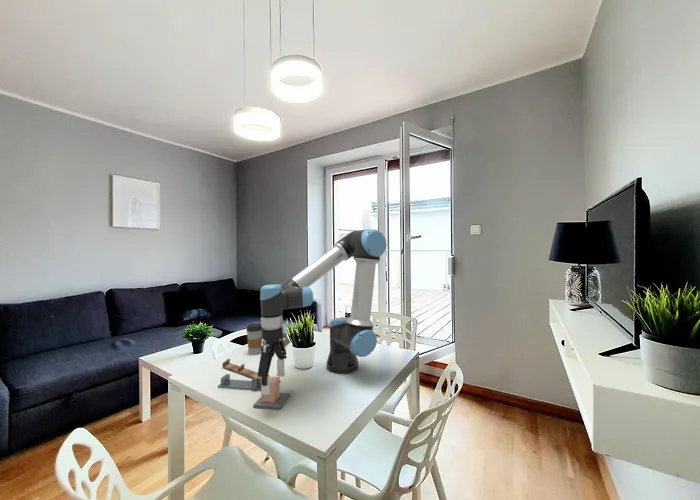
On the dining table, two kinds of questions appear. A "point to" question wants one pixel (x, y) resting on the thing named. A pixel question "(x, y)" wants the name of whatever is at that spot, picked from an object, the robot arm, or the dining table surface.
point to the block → (272, 391)
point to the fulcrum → (239, 383)
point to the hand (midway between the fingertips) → (273, 384)
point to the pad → (276, 406)
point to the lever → (240, 370)
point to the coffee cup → (254, 338)
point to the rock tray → (283, 340)
